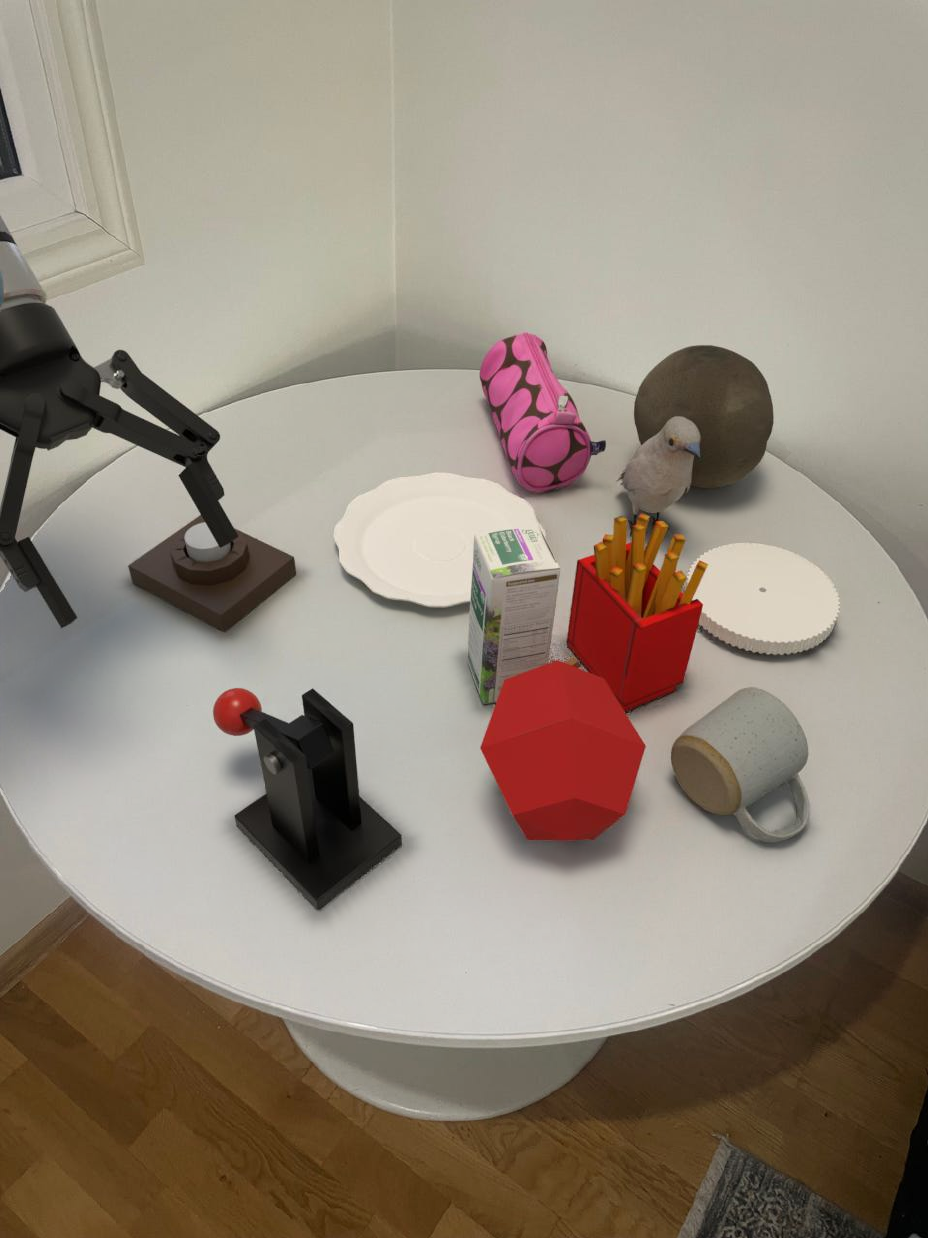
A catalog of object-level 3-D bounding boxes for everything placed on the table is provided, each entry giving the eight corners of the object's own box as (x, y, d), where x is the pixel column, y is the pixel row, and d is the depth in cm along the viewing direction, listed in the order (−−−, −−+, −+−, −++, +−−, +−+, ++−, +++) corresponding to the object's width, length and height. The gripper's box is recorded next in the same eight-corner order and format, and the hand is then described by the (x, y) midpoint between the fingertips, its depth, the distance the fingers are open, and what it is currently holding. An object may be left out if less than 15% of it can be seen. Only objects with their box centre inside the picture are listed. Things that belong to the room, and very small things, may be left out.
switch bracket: (235, 825, 75) (209, 714, 67) (319, 767, 80) (304, 655, 71) (318, 911, 70) (301, 803, 62) (402, 844, 74) (398, 734, 66)
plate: (321, 499, 105) (320, 486, 104) (509, 474, 109) (510, 461, 108) (355, 633, 91) (354, 619, 90) (571, 598, 95) (573, 585, 94)
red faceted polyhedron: (473, 868, 74) (467, 694, 83) (631, 870, 76) (609, 698, 84) (491, 804, 65) (483, 614, 73) (673, 807, 66) (644, 619, 74)
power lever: (216, 739, 76) (197, 699, 75) (254, 714, 78) (237, 675, 77) (304, 783, 66) (285, 738, 65) (346, 753, 68) (328, 709, 67)
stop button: (178, 552, 93) (175, 538, 92) (208, 531, 95) (206, 516, 94) (209, 568, 91) (206, 554, 90) (239, 546, 94) (237, 531, 93)
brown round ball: (702, 432, 116) (728, 312, 106) (782, 497, 107) (819, 372, 97) (601, 462, 112) (618, 339, 101) (676, 532, 103) (703, 406, 92)
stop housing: (132, 583, 95) (123, 550, 92) (206, 529, 101) (200, 498, 99) (224, 632, 90) (218, 600, 88) (296, 574, 97) (292, 542, 94)
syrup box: (465, 659, 89) (469, 532, 79) (528, 648, 90) (539, 521, 80) (482, 706, 85) (489, 578, 75) (548, 694, 86) (563, 565, 76)
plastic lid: (837, 580, 98) (844, 561, 96) (827, 678, 88) (835, 658, 86) (694, 549, 101) (699, 529, 99) (670, 640, 91) (675, 620, 89)
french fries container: (627, 623, 93) (649, 501, 83) (686, 687, 87) (718, 565, 77) (563, 646, 90) (578, 524, 80) (620, 715, 84) (644, 592, 75)
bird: (652, 575, 98) (678, 446, 87) (599, 496, 107) (617, 371, 97) (697, 566, 99) (728, 438, 88) (641, 489, 108) (663, 364, 98)
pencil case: (602, 492, 107) (613, 411, 101) (515, 503, 106) (521, 421, 99) (545, 391, 122) (552, 315, 116) (469, 399, 121) (471, 322, 114)
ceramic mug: (656, 777, 79) (673, 715, 74) (723, 729, 83) (744, 667, 78) (759, 870, 74) (786, 810, 68) (827, 814, 77) (857, 753, 72)
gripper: (142, 295, 81) (271, 523, 84) (-177, 402, 69) (-13, 668, 71) (166, 252, 75) (304, 500, 78) (-182, 361, 62) (-1, 655, 65)
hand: (153, 581), depth 74 cm, fingers open, 13 cm apart
